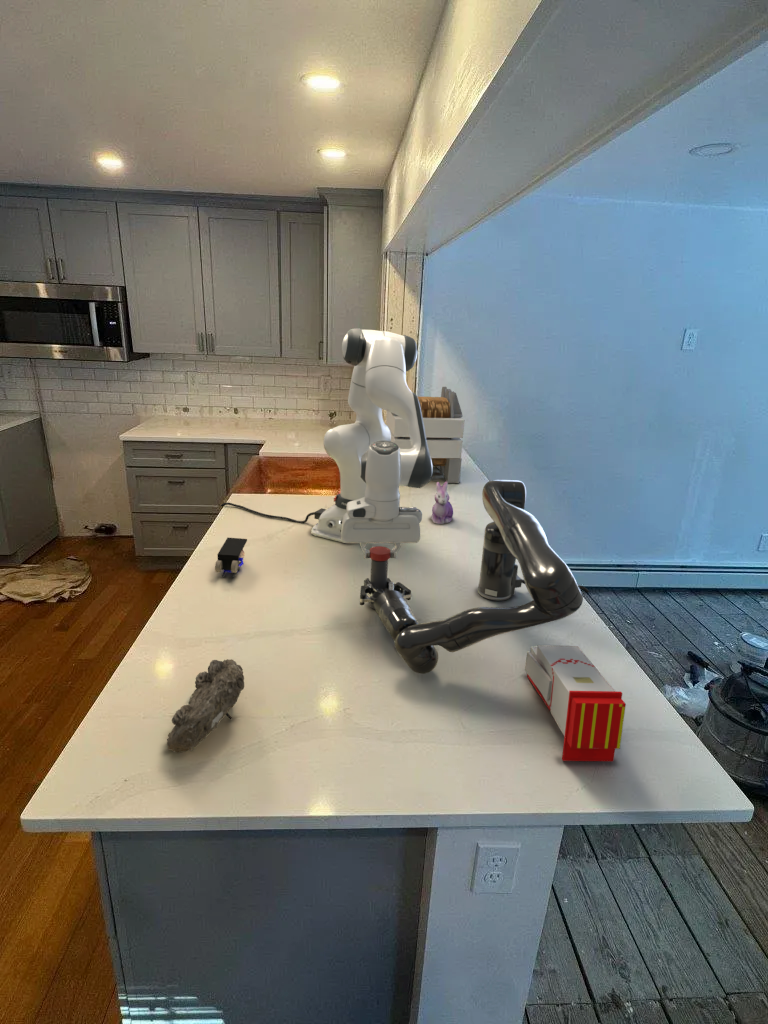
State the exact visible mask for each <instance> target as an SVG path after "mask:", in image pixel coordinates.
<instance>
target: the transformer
mask: <svg viewBox="0 0 768 1024" xmlns="http://www.w3.org/2000/svg"><path fill="white" fill-rule="evenodd" d="M440 393H441V394H440V396H418V395H417V397H418V400H419V403H420V408H421V412H422V417H423V423H424V429H425V434H426V440H427V445H428V449H429V454H430V457H431V460H432V465H433V467H436V468H437V470H438V469H439V473H440V474H441V475H443V478H444V479H445V482H446V481H447V482H448V484H455V483H456V484H459V483H461V472H462V461H463V460H462V453H463V442H464V441H463V440H462V439H463V438H464V431H465V430H464V429H465V419H464V418H463V411H462V408H461V405H460V402H459V398H458V395H457V392H455V391H453V390H452V389H451V388H447V386H442V387H441V392H440ZM385 414H386V415H385V424H386V425H387V426H388V428H389V430H390V433H391V441H390V442H393V443H396V444H397V445H398V446H399V448H400V449H411V448H412V446H411V440H410V434H409V429H408V425H407V423H406V421H405V420H404V419H403V418H401V417H400V416H398V415H396V414H394V413H391V412H389V411H386V413H385Z"/></svg>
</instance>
